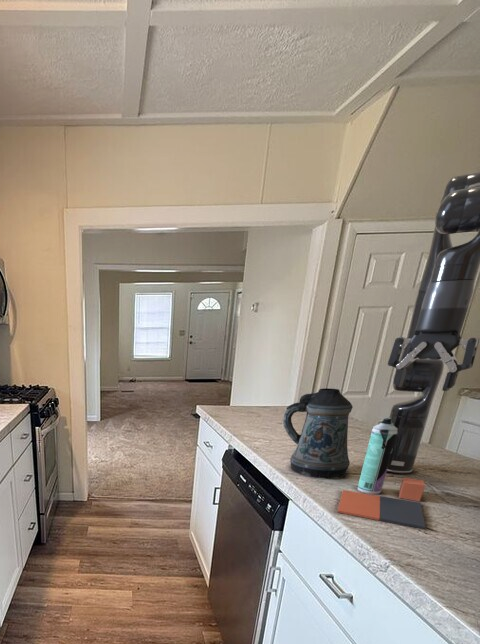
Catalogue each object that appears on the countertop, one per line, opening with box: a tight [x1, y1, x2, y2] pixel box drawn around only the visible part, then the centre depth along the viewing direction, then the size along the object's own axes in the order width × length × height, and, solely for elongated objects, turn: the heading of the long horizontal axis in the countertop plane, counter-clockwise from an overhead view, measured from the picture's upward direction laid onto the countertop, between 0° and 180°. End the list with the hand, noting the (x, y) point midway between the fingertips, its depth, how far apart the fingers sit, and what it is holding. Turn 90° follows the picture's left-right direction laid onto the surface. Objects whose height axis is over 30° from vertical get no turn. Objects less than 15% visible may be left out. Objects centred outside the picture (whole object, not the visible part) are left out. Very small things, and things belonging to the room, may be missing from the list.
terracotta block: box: [398, 477, 426, 502], centre depth 105 cm, size 4×4×4 cm
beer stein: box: [282, 387, 354, 479], centre depth 122 cm, size 16×19×25 cm
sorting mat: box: [337, 489, 426, 530], centre depth 99 cm, size 16×17×1 cm
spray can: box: [357, 417, 398, 495], centre depth 107 cm, size 6×6×20 cm
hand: (421, 388), depth 88 cm, fingers open, 8 cm apart
